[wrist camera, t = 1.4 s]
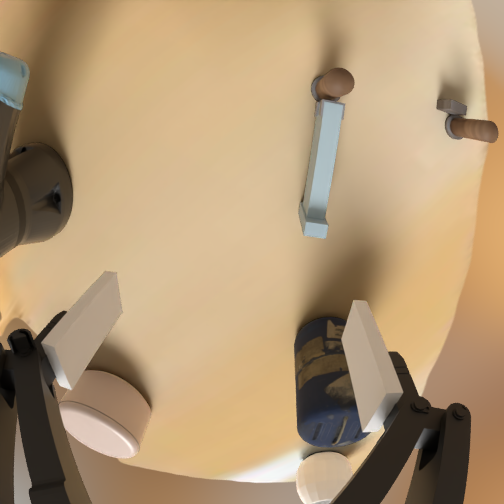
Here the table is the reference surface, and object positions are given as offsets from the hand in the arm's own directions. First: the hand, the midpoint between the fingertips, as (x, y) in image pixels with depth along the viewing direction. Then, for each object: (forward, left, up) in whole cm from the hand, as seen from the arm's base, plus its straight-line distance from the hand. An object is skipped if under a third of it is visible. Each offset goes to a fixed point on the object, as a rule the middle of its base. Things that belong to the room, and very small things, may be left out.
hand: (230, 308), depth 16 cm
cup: (+57, -24, -22) cm, 66 cm away
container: (+13, -48, -22) cm, 55 cm away
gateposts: (0, +21, -22) cm, 31 cm away
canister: (+22, -4, -22) cm, 32 cm away
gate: (0, +9, -22) cm, 23 cm away
